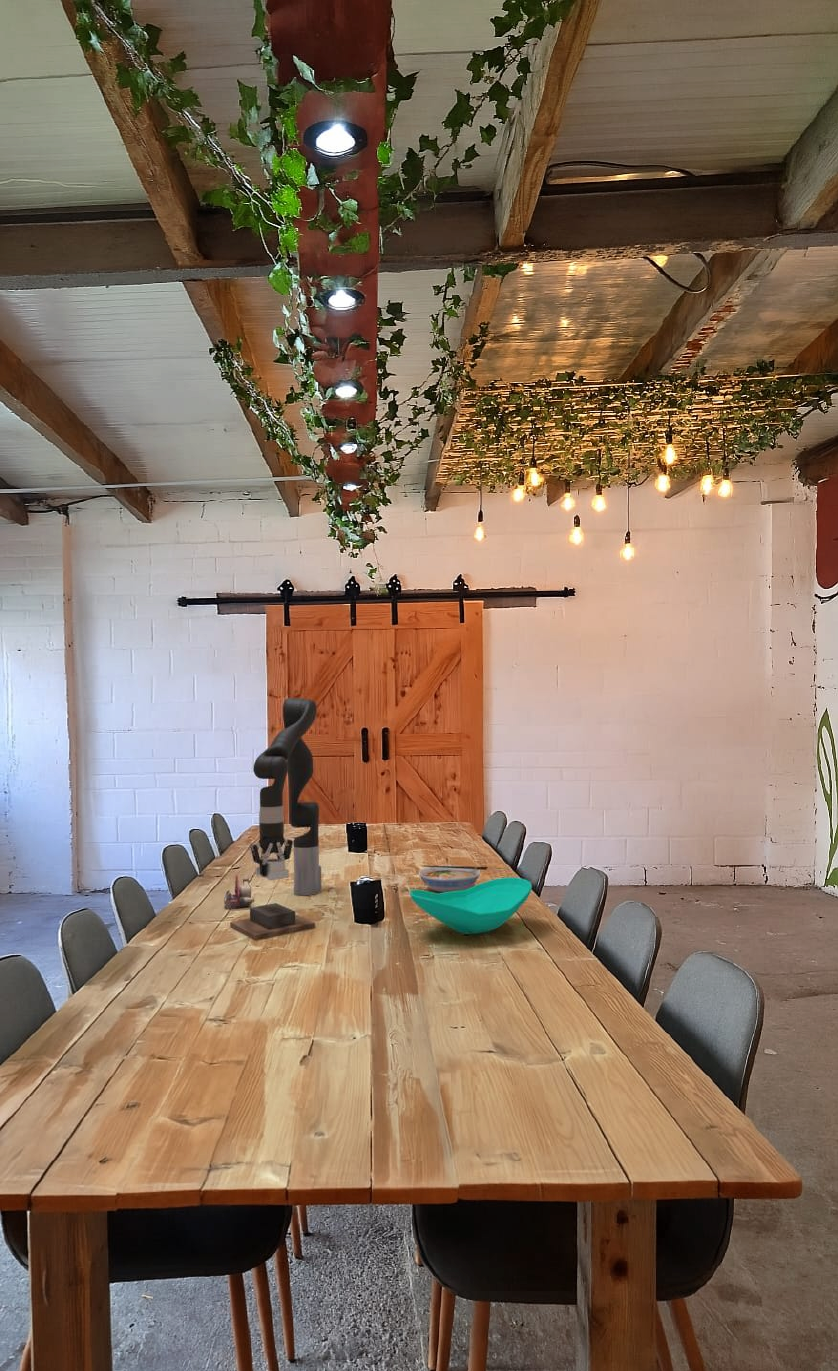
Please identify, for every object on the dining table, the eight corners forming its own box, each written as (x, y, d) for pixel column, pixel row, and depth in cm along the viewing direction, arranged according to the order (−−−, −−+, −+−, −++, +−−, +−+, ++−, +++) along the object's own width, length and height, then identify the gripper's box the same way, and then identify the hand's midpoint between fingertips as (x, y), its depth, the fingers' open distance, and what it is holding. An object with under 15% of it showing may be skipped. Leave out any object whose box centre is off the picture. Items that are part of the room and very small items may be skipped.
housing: (288, 877, 240) (288, 860, 240) (269, 880, 236) (269, 863, 236) (273, 872, 248) (273, 856, 248) (255, 875, 244) (255, 858, 244)
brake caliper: (215, 897, 271) (236, 868, 273) (241, 914, 273) (262, 885, 276) (218, 905, 260) (240, 875, 262) (245, 922, 263) (266, 892, 265)
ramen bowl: (407, 897, 276) (407, 874, 277) (425, 883, 298) (425, 861, 298) (476, 902, 269) (475, 878, 269) (489, 886, 291) (489, 864, 291)
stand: (287, 915, 255) (287, 898, 255) (315, 927, 241) (314, 909, 241) (230, 927, 243) (230, 909, 243) (255, 940, 229) (255, 921, 229)
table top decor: (434, 954, 214) (434, 905, 214) (393, 928, 239) (393, 885, 239) (553, 933, 231) (552, 889, 232) (503, 911, 256) (503, 871, 256)
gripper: (255, 824, 235) (256, 880, 235) (297, 819, 244) (298, 873, 244) (245, 821, 241) (245, 876, 241) (286, 816, 250) (286, 869, 250)
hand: (272, 874), depth 242 cm, fingers closed on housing, 5 cm apart
